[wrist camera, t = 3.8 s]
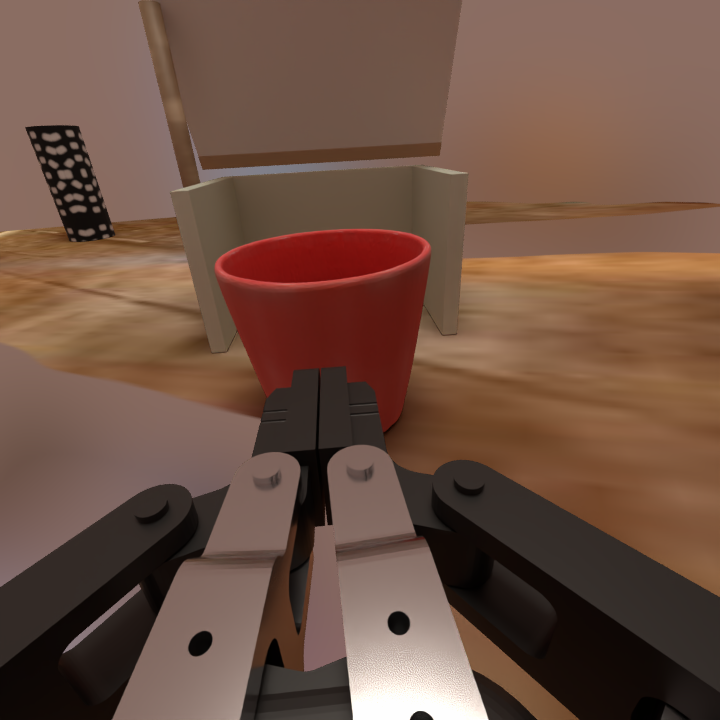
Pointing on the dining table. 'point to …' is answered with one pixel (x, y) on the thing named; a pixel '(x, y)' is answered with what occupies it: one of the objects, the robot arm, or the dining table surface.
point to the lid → (312, 78)
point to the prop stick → (169, 90)
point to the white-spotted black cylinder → (71, 181)
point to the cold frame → (324, 225)
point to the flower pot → (330, 306)
